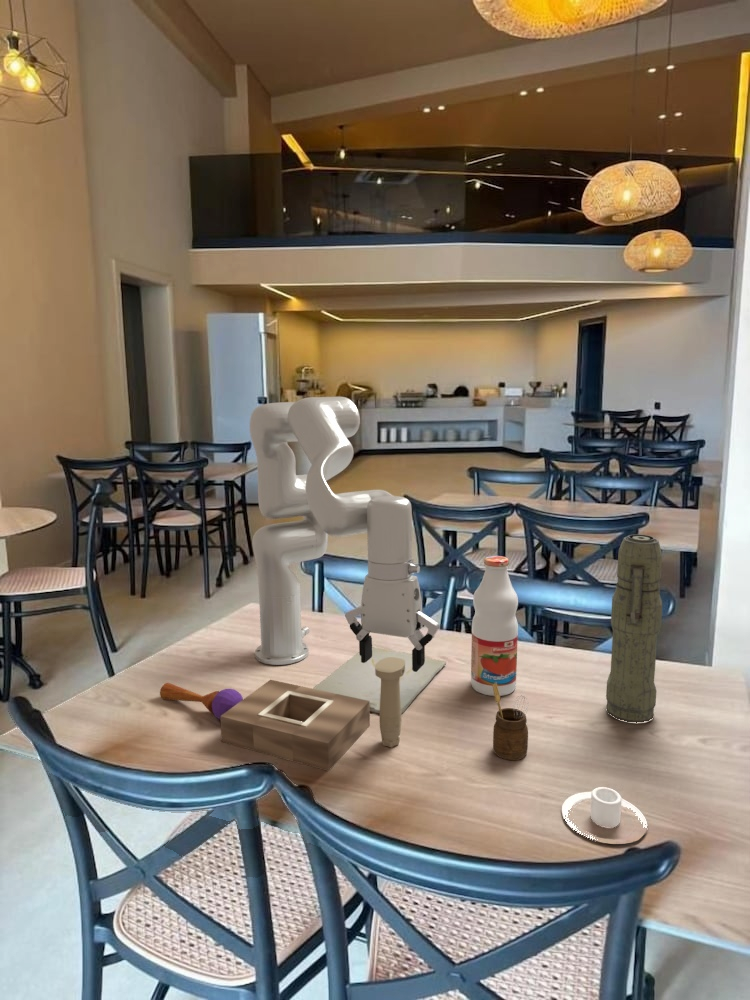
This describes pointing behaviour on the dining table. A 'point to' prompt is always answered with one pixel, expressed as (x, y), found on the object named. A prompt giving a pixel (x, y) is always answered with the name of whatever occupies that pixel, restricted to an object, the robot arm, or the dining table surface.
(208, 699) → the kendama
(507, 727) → the utensil holder
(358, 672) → the decorative slab
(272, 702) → the brown flat block
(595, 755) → the dining table surface
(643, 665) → the thermos
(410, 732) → the dining table surface
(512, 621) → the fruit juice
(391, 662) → the handle
